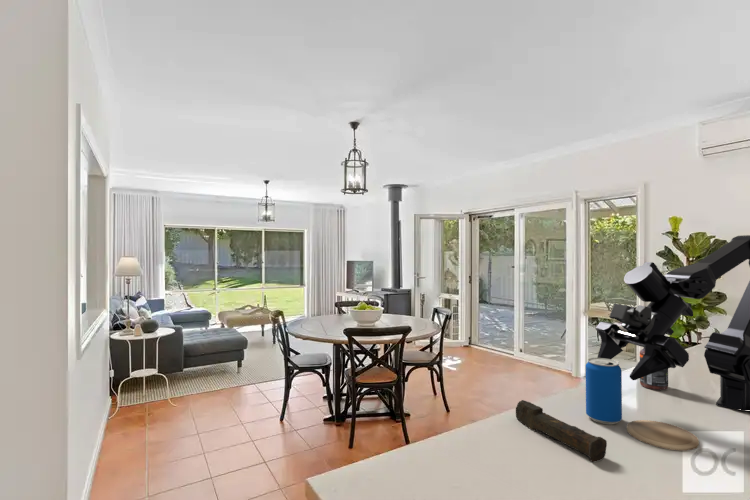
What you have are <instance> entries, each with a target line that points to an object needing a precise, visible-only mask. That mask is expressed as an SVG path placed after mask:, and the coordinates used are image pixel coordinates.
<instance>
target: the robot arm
mask: <svg viewBox="0 0 750 500" xmlns="http://www.w3.org/2000/svg"><path fill="white" fill-rule="evenodd" d="M747 260H748V266H749V267H750V235H749V234H746V235H745V234H744V235H737V236H734V237H732V238H731V240H730V241H729V242H727V243H726V244H724V245H722V246H721V247H719V248H718V249H716V250H714V251H713V252H711V253H710V254H709V255H707V256H705V257H704V258H702V259H701V260H699V261H697V262H695V263H693V264H688V265H684V266H683V265H682V266H680V267H678V268H677V267H676V268H675V269H672V270H670V271H668V272H666V273H665V275H664V274H663V273H662V272H661V271H660V269H659V268H658V266H657V265H656V263H654V262H653V261H650V262H649V261H645V262H644V263H642V265H638V266H636V267H634V268H633V269H631V270H629V271H627V272H626V274H625V275H624V277H623V281H624V283H625V284H626V285H627V286H628V287H629V289H630V290H631V291H633V293H634V294H635V295H636V297H638V299H640V301H642V302H643V303H648V305H645V306H644V305H638V306H637V307H634V306H631V305H627V304H620V303H614V305H613V307H612V308H611V312H610V314H609V318H610V319H612V320H616V321H618V322H620V323H622V324H621V327H622V328H623V329H624V330H626V332H624V330H622V329H621V328H620V327H619V326H618V325H617V323H612V322H608V321H600V322H599V323H598V324H597V325H596V327H595V330H596V331H597V334H598V336H599V337H600V339H601V341H600V342H601V343H600V347H599V350H598V354H597V356H596V358H606V359H611V360H613V359H614V358H615V357H617V356H618V355H620V353H622V352H623V348H626V347H627V346H628V345H629V344H632V345H635V346H638V347H641V348H644V347H645V354H644V356H643V357H642V358H641V360H640V359H639V361H638V362H637V364H636V365H635V366H634V368H633V369H632V370H631V373H630V374H629V378H630V379H631V380H632V381H636V380H638V379H639V380H640V378H642V377H644V376H647V375H650V374H652V373H655V372H658V371H661V370H665V369H668V370H669V369H670V368H671V369H675V368H676V367H680V368H684V367H685V366H686V364H687V363H688V362H689V361H690V356H689V355H690V354H689V352H688V351H687V350H686V349H685V347H684V346H682V345H681V343H680V342H679V341H678V340H677V339H676V338H675V337H671V336H672V335H673V334H674V333H675V331H674V330H673V329H672V327H673V326H674V325H675V323H676V322H677V320H679V318H680V317H681V316H685V317H693V316H694V311H693V308H692V304H691V303H689V302H686V301H685V300H684V299H686V298H687V299H693V300H694V299H695V300H701V299H703V298H705V297H706V296H707V295H708V294H710V292H711V291H713V290H714V289H715V287H716V283H717V280H718V279H719V278H721V277H722V276H724V275H725V274H726V273H728V272H730V271H731V270H733V269H735V268H736V267H737V266H740V265H741V264H742V263H744V262H746V261H747ZM741 296H742V297H741V298H740V301H739V303H738V305H737V307H736V309H735V311H734V313H733V316H732V317H731V319H730V322H729V324H728V326H727V328H726V329H725V330H724V331H722V332H716V331H715V332H714V331H713V332H712V333H711V334H710V335H709V338H708V342H707V343H706V345H704V348H705V350H704V355H703V357H704V358H705V362H706V365H707V368H708V371H709V373H710V374H712V375H713V374H714V375H717V376H719V380H720V381H719V382H720V383H719V384H720V385H719V387H720V392H719V393H720V396H719V397H718V398H717V400H716V401H715V405H716V406H719V407H724V408H729V409H732V408H733V409H732V410H737V409H741V410H750V280H749V281H748V283H747V286H746V287H745V290H744V292H743V294H742V295H741ZM683 298H684V299H683ZM667 335H668V336H667ZM741 410H740V411H741Z"/></svg>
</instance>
